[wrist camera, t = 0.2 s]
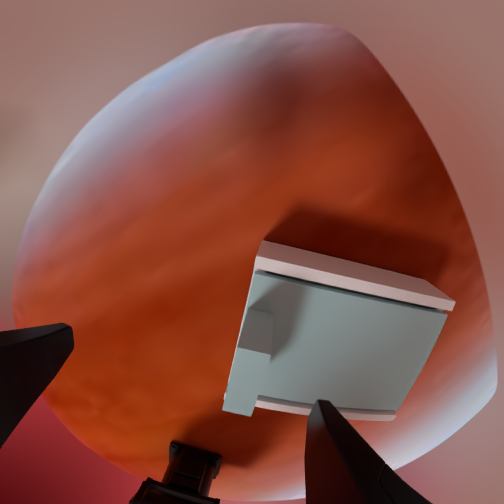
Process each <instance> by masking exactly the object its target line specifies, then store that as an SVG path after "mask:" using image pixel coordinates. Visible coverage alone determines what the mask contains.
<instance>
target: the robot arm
mask: <svg viewBox="0 0 504 504" xmlns="http://www.w3.org/2000/svg"><path fill="white" fill-rule="evenodd" d="M73 349H74V338H73V330H72V327H71V326H69V325H67V324H65V323H57V324H51V325H44V326H37V327H31V328H23V329H16V330H9V331H1V332H0V449H1V447H2V445H3V444H4V443H5V441H6V440H7V439H8V437H9V436H10V434H11V433H12V431H13V430H14V429H15V427H16V426H17V425H18V423H19V422H20V421H21V419H22V418H23V417H24V415H25V414H26V413H27V411H28V410H29V409H30V407H31V406H32V405H33V403H34V402H35V401H36V400H37V399H38V397H39V396H40V395H41V394H42V392H43V391H44V390H45V389H46V387H47V386H48V385H49V384H50V382H51V381H52V380H53V379H54V377H55V376H56V375H57V373H58V372H59V370H60V369H61V367H62V366H63V364H64V363H65V361H66V360H67V358H68V357H69V355H70V354H71V352H72V351H73ZM221 459H222V456H220V455H218V454H214V453H210V452H206V451H202V450H199V449H195V448H192V447H188V446H185V445H182V444H178V443H175V442H171V443H170V447H169V465H168V467H167V470H166V472H165V474H164V477H163V479H162V482H158V481H155V480H153V479H152V478H149V477H148V478H147V480H146V481H143V482H142V485H141V487H140V489H139V490H138V492H137V493H136V494H135V495H134V496H133V497H132V499H131V500H130V501H129V504H219V503H220V499H218V498H216V499H215V498H211V497H208V495H209V491H210V487H211V483H212V479H215V478H216V476H217V472H218V469H219V466H220V462H221ZM305 486H306V504H432V503H431V502H429V501H428V500H427V499H425V498H424V497H423V496H422V495H420V494H419V493H418V492H417V491H415V490H414V489H413V488H411V487H410V486H409V485H408V484H407V483H406V482H405V481H403V480H402V479H401V478H400V477H399V476H398V475H397V474H396V473H395V472H394V471H393V470H392V469H391V468H390V467H389V466H388V465H387V464H385V461H384V460H383V459H382V458H381V457H380V456H379V455H378V454H377V453H376V452H375V451H374V450H373V449H372V448H371V446H370V445H369V444H368V443H367V442H366V441H365V440H364V439H363V438H362V437H361V435H360V434H359V433H358V432H357V431H356V430H355V429H354V428H353V427H352V426H351V424H350V423H349V422H348V421H347V420H346V419H345V418H344V417H343V415H342V414H341V413H340V412H339V411H338V410H337V409H336V407H335V406H334V405H333V404H332V403H331V402H330V401H329V400H324V399H318V400H316V402H315V403H314V406H313V408H312V410H311V412H310V414H309V416H308V420H307V432H306V445H305Z"/></svg>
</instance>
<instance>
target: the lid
mask: <svg viewBox="0 0 504 504" xmlns="http://www.w3.org/2000/svg"><path fill="white" fill-rule="evenodd" d="M447 316H448V315H447V314H446V313H445V312H442V311H437V310H432V309H427V308H423V307H418V306H413V305H408V304H403V303H398V302H393V301H389V300H384V299H379V298H375V297H370V296H365V295H361V294H356V293H351V292H347V291H342V290H338V289H333V288H329V287H324V286H320V285H315V284H311V283H306V282H302V281H297V280H293V279H289V278H284V277H280V276H276V275H271V274H267V273H263V272H259V271H255V273H254V277H253V282H252V286H251V290H250V295H249V299H248V303H247V308H246V312H245V316H244V321H243V325H242V329H241V334H240V338H239V342H238V345H237V349H236V353H235V358H234V362H233V366H232V370H231V375H230V379H229V383H228V387H227V392H226V396H225V400H224V404H223V408H222V410H224V411H228V412H232V413H236V414H241V415H246V416H250V417H251V415H252V413H253V410H254V407H255V404H256V401H257V398H258V395H263V396H268V397H273V398H278V399H284V400H290V401H296V402H303V403H310V404H314V403H315V402H316V400H318V399H324V400H329V401H330V402H331V403H332V404H333V405H334V406H335V407H345V408H358V409H375V410H398V409H399V407H400V406H401V404H402V402H403V401H404V399H405V398H406V396H407V394H408V393H409V391H410V389H411V388H412V386H413V384H414V383H415V381H416V379H417V377H418V376H419V374H420V372H421V370H422V368H423V366H424V365H425V363H426V361H427V359H428V357H429V355H430V353H431V351H432V349H433V347H434V345H435V343H436V341H437V338H438V336H439V334H440V332H441V330H442V327H443V325H444V323H445V320H446V318H447Z"/></svg>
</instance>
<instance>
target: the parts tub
mask: <svg viewBox="0 0 504 504" xmlns="http://www.w3.org/2000/svg"><path fill="white" fill-rule="evenodd" d="M255 271H259V272H263V273H267V274H271V275H276V276H280V277H284V278H289V279H293V280H297V281H302V282H306V283H311V284H315V285H320V286H324V287H329V288H333V289H338V290H342V291H347V292H351V293H356V294H361V295H365V296H370V297H375V298H379V299H384V300H389V301H393V302H398V303H403V304H408V305H413V306H418V307H423V308H427V309H432V310H437V311H443V309H444V310H449V311H452V310H453V308H454V305H455V303H456V302H455V301H454V300H453V299H451V298H450V297H449V296H447V295H446V294H444V293H443V292H442V291H440V290H439V289H437V288H436V287H435V286H433V285H432V284H430V283H429V282H428V281H426V280H424V279H420V278H416V277H412V276H409V275H405V274H401V273H397V272H393V271H389V270H385V269H381V268H377V267H373V266H369V265H365V264H361V263H357V262H352V261H348V260H344V259H340V258H336V257H332V256H328V255H324V254H319V253H315V252H311V251H307V250H303V249H299V248H294V247H290V246H286V245H282V244H277V243H273V242H269V241H264V240H262V242H261V245H260V248H259V250H258V253H257V256H256V260H255V264H254V272H253V276H252V280H251V285H250V289H249V294H248V298H247V302H246V307H245V311H244V315H243V320H242V324H241V328H240V333H239V337H238V341H237V345H238V342H239V338H240V334H241V329H242V325H243V321H244V316H245V312H246V308H247V303H248V299H249V295H250V290H251V286H252V282H253V277H254V273H255ZM236 349H237V346H236ZM235 353H236V350H235ZM234 358H235V354H234ZM233 362H234V359H233ZM232 366H233V363H232ZM231 370H232V367H231ZM230 375H231V372H230ZM229 379H230V376H229ZM228 383H229V380H228ZM227 387H228V384H227ZM226 392H227V388H226V391H225V395H224V400H225V396H226ZM313 406H314V404H310V403H303V402H296V401H290V400H284V399H278V398H273V397H268V396H263V395H258V398H257V401H256V404H255V407H260V408H265V409H271V410H276V411H282V412H288V413H295V414H302V415H309V414H310V412H311V410H312V408H313ZM336 409H337V410H338V411H339V412H340V413H341V414H342V415H343V417H344V418H345V419H352V420H372V421H393V420H394V419H395V417H396V416H397V414H396V412H395V410H375V409H358V408H345V407H336Z"/></svg>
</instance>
